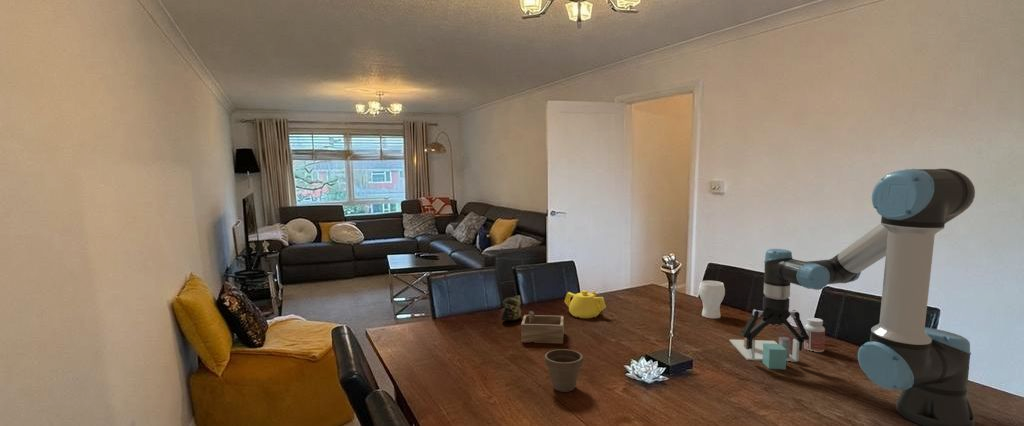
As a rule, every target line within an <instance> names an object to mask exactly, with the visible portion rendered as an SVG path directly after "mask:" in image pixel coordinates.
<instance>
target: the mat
mask: <svg viewBox="0 0 1024 426" xmlns="http://www.w3.org/2000/svg"><path fill="white" fill-rule="evenodd" d="M754 340H755V359H751V358H750V357H749V349H746V348H745V347H744V339H729V342H730V343H731V344H732V345H733V347H734V348H735V349H736V350H737V351H738V352H739V354H740V355H742V357H744V359H746V361H757V362H758V361H760V362H761V361H762V362H763V343H767V344H779V342H778V343H777V341H775V340H762V339H761V340H760V339H759V340H758V339H757V340H756V339H754ZM786 361H787V362H788V361H791V362H792V363H793V362H794V363H797V362H798V361H795V360H794V359H793V358H792V354H791V353H790V358H786ZM787 362H786V363H787ZM791 362H790V363H791ZM788 363H789V362H788Z"/></svg>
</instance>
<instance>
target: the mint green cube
mask: <svg viewBox="0 0 1024 426" xmlns="http://www.w3.org/2000/svg"><path fill="white" fill-rule="evenodd" d="M786 352H787V350H786V349H785V348H784V347H783V346H781V345H780V344H779V343H778V344H767V343H763V361H762V364H764V366H765V367H767V369H770V370H786V369H787V362H786Z"/></svg>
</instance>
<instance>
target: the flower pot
mask: <svg viewBox="0 0 1024 426" xmlns="http://www.w3.org/2000/svg"><path fill="white" fill-rule="evenodd" d="M583 358H584V356H583V354H582V353H581V352H579V351H576V350H572V349H565V348H563V349H560V348H558V349H554V350H553V349H552V350H550V351H547V352H546V353H545V355H544V362H545V366H547V368H548V371H549V376H550V380H551V384H552V388H553V390H556V391H557V392H561V393H568V392H571V391H573V390H574V389H575V387H576V384H577V380H578V376H579V371H580V368H581V367H582V366H583V364H584V362H583V361H584V359H583Z"/></svg>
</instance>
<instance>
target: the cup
mask: <svg viewBox="0 0 1024 426" xmlns="http://www.w3.org/2000/svg"><path fill="white" fill-rule="evenodd" d="M698 294H699V297H700V299H701V302H702V307H703V308H702V311H701V316H702V317H704V318H707V319H720V318H722V317H721V309H720V307H721V303H722V302H723V300H724V297H725V295H726V289H725V284H724V282H721V281H718V280H702V281H700V282H699V286H698Z"/></svg>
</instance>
